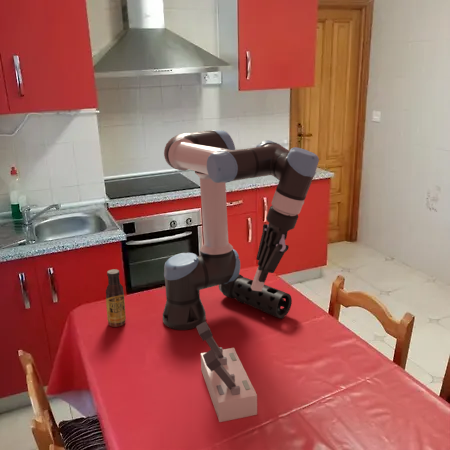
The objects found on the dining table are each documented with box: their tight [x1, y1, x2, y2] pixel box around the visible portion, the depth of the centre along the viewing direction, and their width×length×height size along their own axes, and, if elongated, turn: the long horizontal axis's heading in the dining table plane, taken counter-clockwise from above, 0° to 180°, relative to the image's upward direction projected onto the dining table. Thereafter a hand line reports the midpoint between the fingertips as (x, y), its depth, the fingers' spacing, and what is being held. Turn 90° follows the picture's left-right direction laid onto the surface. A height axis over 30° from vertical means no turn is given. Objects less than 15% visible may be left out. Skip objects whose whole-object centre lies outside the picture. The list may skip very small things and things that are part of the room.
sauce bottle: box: [105, 268, 127, 328], centre depth 164 cm, size 6×6×20 cm
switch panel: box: [200, 346, 258, 423], centre depth 130 cm, size 10×22×8 cm, turn 15°
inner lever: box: [196, 320, 224, 358], centre depth 133 cm, size 3×4×11 cm
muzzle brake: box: [218, 273, 293, 320], centre depth 174 cm, size 10×28×10 cm, turn 46°
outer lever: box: [203, 348, 236, 390], centre depth 121 cm, size 3×4×11 cm
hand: (256, 289), depth 127 cm, fingers closed
